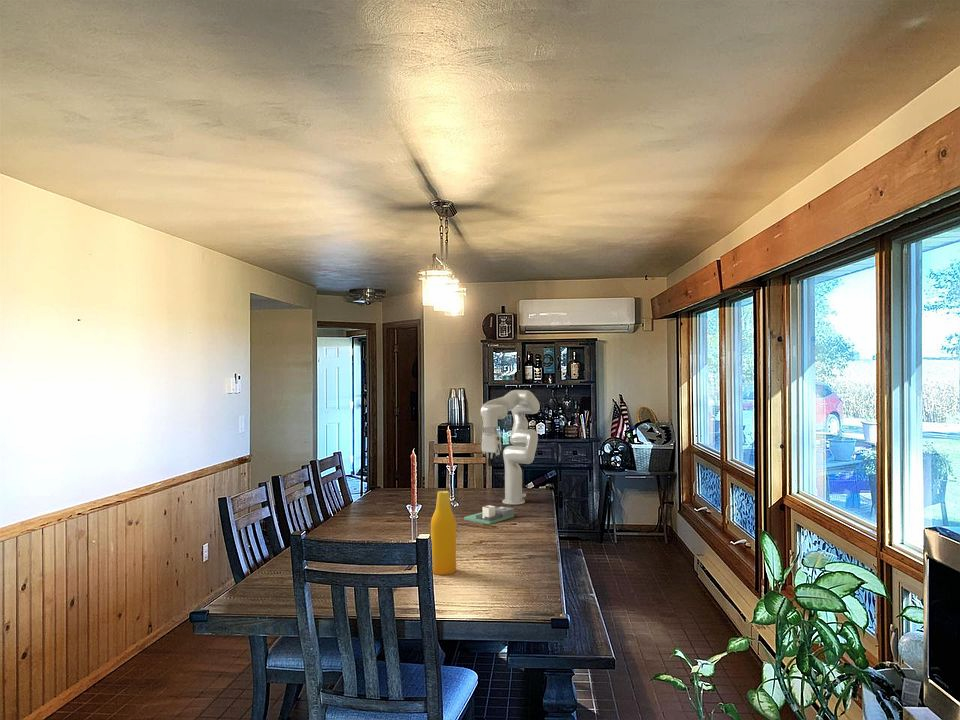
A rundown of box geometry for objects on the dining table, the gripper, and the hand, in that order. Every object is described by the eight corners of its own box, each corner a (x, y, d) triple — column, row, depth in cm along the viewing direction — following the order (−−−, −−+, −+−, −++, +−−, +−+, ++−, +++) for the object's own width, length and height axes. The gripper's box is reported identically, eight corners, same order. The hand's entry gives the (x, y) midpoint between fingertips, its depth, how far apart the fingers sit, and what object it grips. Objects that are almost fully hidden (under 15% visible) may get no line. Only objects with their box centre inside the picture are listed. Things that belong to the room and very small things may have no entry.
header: (488, 515, 320) (488, 511, 320) (501, 517, 315) (501, 514, 315) (476, 518, 313) (476, 515, 313) (489, 521, 307) (489, 517, 307)
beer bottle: (442, 566, 240) (442, 488, 241) (461, 570, 234) (461, 491, 235) (425, 572, 233) (425, 492, 234) (444, 577, 227) (444, 495, 228)
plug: (488, 515, 317) (488, 504, 317) (495, 516, 314) (495, 505, 314) (482, 517, 313) (482, 506, 313) (488, 518, 310) (488, 507, 311)
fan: (501, 512, 326) (501, 505, 327) (514, 514, 321) (514, 507, 321) (491, 515, 320) (491, 507, 320) (504, 517, 315) (504, 510, 315)
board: (489, 512, 332) (489, 510, 332) (514, 516, 321) (514, 514, 321) (464, 519, 316) (464, 517, 316) (489, 524, 306) (489, 521, 306)
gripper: (506, 430, 328) (507, 465, 329) (483, 428, 338) (484, 463, 338) (497, 432, 323) (498, 468, 323) (474, 430, 332) (475, 465, 332)
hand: (491, 465), depth 331 cm, fingers closed
